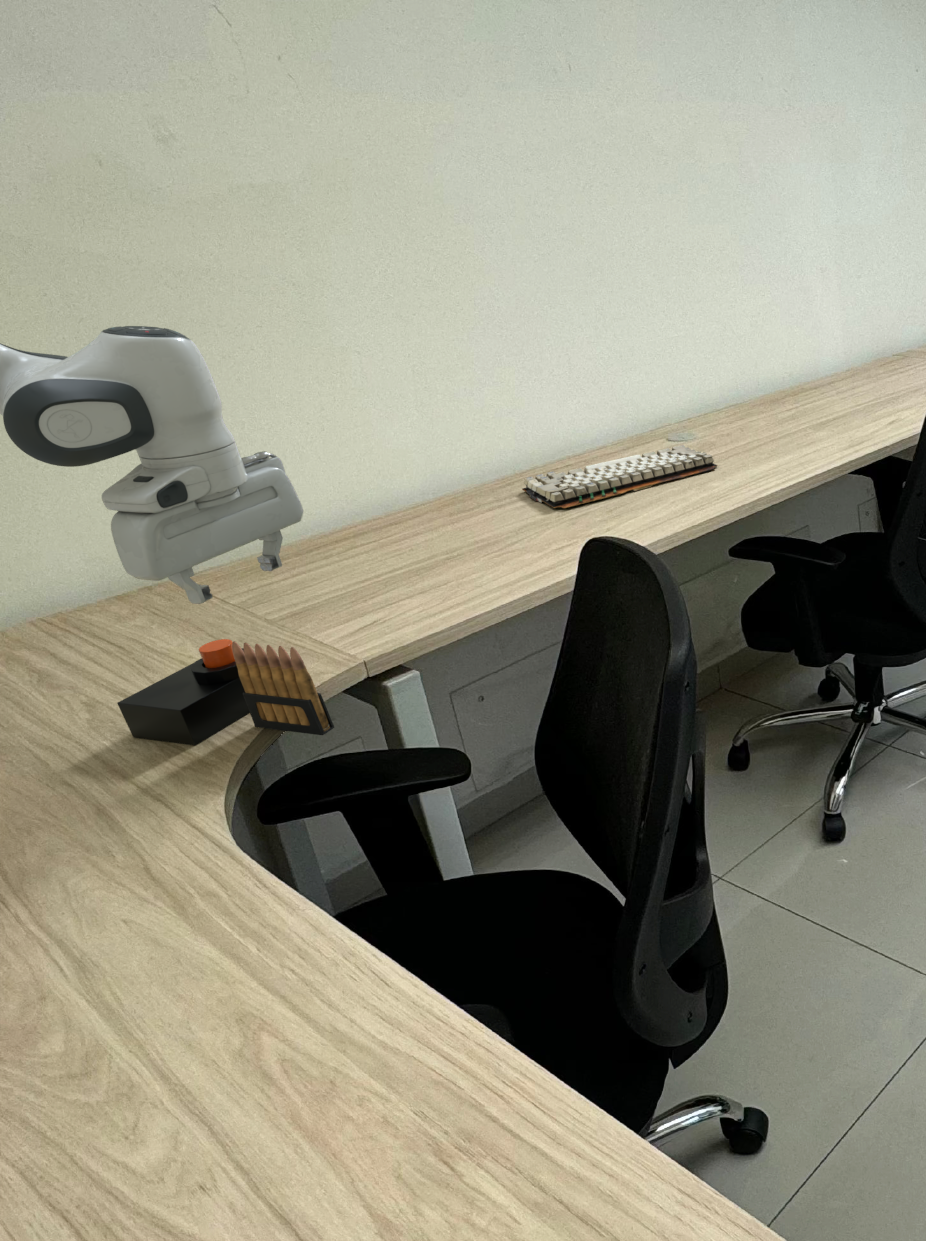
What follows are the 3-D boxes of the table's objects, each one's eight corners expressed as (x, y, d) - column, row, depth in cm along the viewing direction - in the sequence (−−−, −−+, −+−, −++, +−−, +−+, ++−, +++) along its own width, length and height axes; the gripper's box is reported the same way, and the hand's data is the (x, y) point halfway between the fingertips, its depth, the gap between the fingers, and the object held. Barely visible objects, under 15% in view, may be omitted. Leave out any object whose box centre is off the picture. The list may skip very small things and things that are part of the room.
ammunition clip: (254, 727, 125) (220, 644, 120) (267, 719, 127) (234, 637, 122) (323, 735, 123) (291, 651, 118) (335, 727, 125) (304, 644, 119)
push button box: (133, 738, 124) (110, 690, 121) (220, 689, 135) (201, 644, 132) (197, 746, 122) (176, 697, 119) (280, 695, 133) (263, 650, 130)
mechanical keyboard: (679, 452, 230) (677, 438, 229) (721, 469, 218) (719, 454, 216) (518, 493, 208) (514, 478, 206) (555, 515, 195) (551, 499, 193)
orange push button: (198, 668, 126) (191, 650, 125) (223, 654, 130) (216, 637, 129) (221, 670, 126) (213, 653, 125) (245, 657, 129) (238, 640, 128)
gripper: (254, 445, 121) (290, 550, 126) (84, 500, 103) (134, 619, 108) (296, 447, 119) (330, 553, 125) (131, 504, 101) (180, 624, 107)
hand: (238, 584), depth 117 cm, fingers open, 8 cm apart
